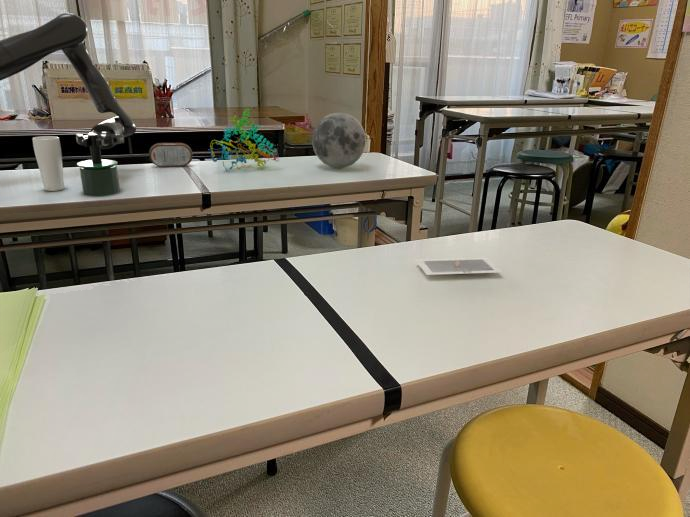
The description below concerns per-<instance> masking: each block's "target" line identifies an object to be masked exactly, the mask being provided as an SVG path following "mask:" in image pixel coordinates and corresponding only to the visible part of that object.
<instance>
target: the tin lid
mask: <svg viewBox="0 0 690 517" xmlns="http://www.w3.org/2000/svg"><path fill="white" fill-rule="evenodd" d="M87 134H88V137H89V144H90V146H89V151H90V157H91V158H90V159H87V160H81V161H79V162H77V163H76V166H77V167H78V168H79V167H81V168H87V169H103V168H108V167H112V166H115V165H116V166H117V165H118V161H116V160H115V159H103V158H102V151H101V150H102V149H101V148H100V147H97V145H96V139H97V138H99V135H98V134H89V133H87Z"/></svg>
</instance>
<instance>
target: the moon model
mask: <svg viewBox="0 0 690 517" xmlns="http://www.w3.org/2000/svg"><path fill="white" fill-rule="evenodd" d="M366 137H367V136H366V132H365V130H364V128H363V125H362V124H361V123H360V121H359V120H358V119H357V118H356V117H354V116H352V115H351V114H348V113H344V112H334V113H330V114H328V115H326V116H324V117H323V118H321V119H320V120H319V121H318V122H317V124H316V125H315V127H314V129H313V132H312V135H311V139H312V140H311V142H312V148H313V152H314V153H315V156H316V157H317V158H318V160H320V161H321V162H322V163H323V164H324V165H326V166H328V167H331V168H337V169H342V168H347V167H349V166H352V165H354V164H355V163H356V162H358V161H359V160H360V159H361V157H362V155H363V154H364V152H365V149H366V144H367V138H366Z"/></svg>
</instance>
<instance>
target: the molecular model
mask: <svg viewBox="0 0 690 517" xmlns="http://www.w3.org/2000/svg"><path fill="white" fill-rule="evenodd" d="M250 113H251V112H250V109H249V108H246V109H244V111H243V113H242V117H241V119H236V118H237V115H236V114H234V116H231V117H230V118H229V119H230V121H231V122H232V123H234V125H235V126H234V127H233V126H231V127H229V129H227V128H223V130H222V131H223V133H224V134H223V138H222V139H221V140H217V139H212V140H211V142H210V144H211V145H209V148H208V149H207V150H208V151H209V152H210V157H211V159H212V162H215V163H216V162H217V161H218V160H221V161H222V165H223V167H224V169H225V171H226V172H229V171H231V170H232V169H233V168H235V167H236V168H237V169H239V170H240V169H241V168H244V169H246V168H249V167H251V166H252V164H249V165H244V164H247V161H249V160H251V161H252V160H254V162H255V163H257V164H256V166H257V168H258V169H259V170H261V169H263V168H264V166H265V165H266V164H267V162H269V161H270V160H272V161H275V162H279V160H280V158H279V157H277V151H278V149H272V148H273V147H274V146H275V145H274V144H273V143H271V141H269V140H268V139H267V138H266V137H265V138H264V135H260V134H257V132H258V131H259V130H258V129H261V128H262V126H261V125H259V124H257V123H254V122H252V123H250V124H249V120H248V118H249V117H250V118H251V120H252V121H254V120H253V117H252V116H251V114H250ZM235 119H236V120H235ZM243 122H244V123H243ZM245 126H247V127H250V128H248V129H249V131H248V130H246V128H244V127H245ZM257 128H258V129H257ZM239 134H240V135H239ZM234 135H239V139H238V136H237V137H236V136H235V138H237V140H236V141H233V140H232V139H229V138H231V136H234ZM252 135H253V136H252ZM249 139H251V140H254V142H255V143H253V142H252V141H251V140H249ZM232 143H235V144H237V147H236V146H235V145H233V144H232ZM258 143H259V144H258ZM214 144H216V145H217V146H218V145H220V146H221V147H220V148H214V150H215V151H219V150H222V154H221V157H218V158H216V159H215V158H214V157H215V156H216V155H215V153H214V150H213V147H212V146H213V145H214ZM242 145H243V146H242ZM244 145H245V146H247V147H248V149H247V148H245V147H244ZM228 146H229V147H228ZM256 146H257V148H256ZM265 146H266V148H264V147H265ZM230 147H232V148H234V149H233V150H232V149H231V148H230ZM237 149H238V151H241V152H242V153H243V156H242V157H239V155H238V154H239V152H238V151H237ZM268 149H270V150H271V151H272V152H271V151H270V150H268ZM226 150H227V151H226ZM248 151H249V152H251V153H249V152H248ZM234 152H235V153H236V154H235V155H233V159H235V161H234V160H233V161H231V166H230V167H229V169H227V168H226V166H225V163H224V160H228V161H230V160H231V157H230V156H232V154H233V153H234ZM246 153H247V154H246ZM273 154H274V156H273V158H271V155H273ZM223 155H224V156H223ZM259 155H260V156H262V157H264V158H265V159H264V160H263V159H262V158H261V157H259ZM239 162H240V163H241V165H242V166H240V167H238V163H239ZM243 163H244V164H243Z"/></svg>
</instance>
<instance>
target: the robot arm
mask: <svg viewBox="0 0 690 517" xmlns="http://www.w3.org/2000/svg"><path fill="white" fill-rule="evenodd" d="M87 37H88V26H87V24H86V22H85V20H84V19H83V18H81V17H80V16H79V15H77V14H74V13H70V12H63V13H60V14H58V15H57V16H56V17H53V19H51V20H50V21H47V22H46V23H44V24H42V25H41V26H38V27H36V28H34V29H32V30H28V31H26V32H21V33H18V34H14V35H11V36H9V37H6V38H3V39H0V81H3V80H7V79H8V78H11V77H12V76H15V75H18V74H19V73H21V72H23V71H25V70H27V69H29V68H30V67H33V66H34V65H35V64H37V63H38V62H40V61H41V60H43V59H44V58H45V57H48V56H49V55H51V54H53V53H55V52H58V51H62V53H63V54H64V55H65V57H66V58H67V59H68V61H69V63H70V64H71V66H72V67H73V69H74V71H75V72H76V74H77V75H78V77H79V79H80V81H81V83H82V84H83V86H84V89H85V90H86V92H87V94H88V96H89V98H90V100H91V101H92V104H93V105H94V108H95V109H96V110H97V111H98V113H100V114H105V113H106V114H107V113H113V114H115V115H116V116H115V117H112V118H110V119H106V120H104V121H102V122H100V123H98V124H96V125H94V126H93V127H92V128H91V129H90V131H89V133H86V134H85V135H83V133H82V134H81V133H75V139H76V143H77V144H78V145H80V146H83V147H84V148H88V147H90V144H89V137H88V134H98V135H99V138H97V139H96V145H97V147H100V150H109V149H112V148H113V147H115V146H116V145H120V144H124V143H125V138H127V137H131V136H133V135H135V133H136V132H137V126H136V123H135V121H134V120H133V118H132V117H131V116H130V115H129V114H128V113H127V112H126V111H125V109H124V108H123V107H122V105H121V104H120V103H119V101H118V99H117V98H116V96H115V94H114V92H113V90H112V87H110V86H111V85H109V83H108V81H107V80H106V78H105V76H104V75H103V74H102V73H101V71H100V70H99V68H97V66H96V65H95V63H94V62H93V60H92V58H91V57H90V55H89V52H88V51H87V48H86V46H85V43H84V42H85V41H86V39H87Z"/></svg>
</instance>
